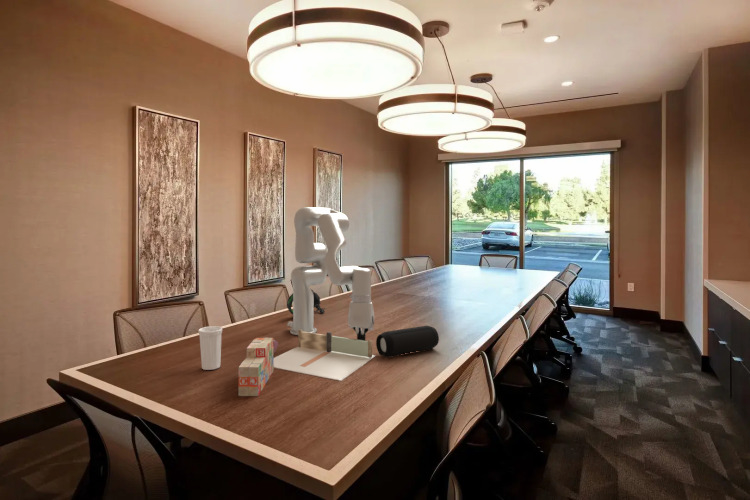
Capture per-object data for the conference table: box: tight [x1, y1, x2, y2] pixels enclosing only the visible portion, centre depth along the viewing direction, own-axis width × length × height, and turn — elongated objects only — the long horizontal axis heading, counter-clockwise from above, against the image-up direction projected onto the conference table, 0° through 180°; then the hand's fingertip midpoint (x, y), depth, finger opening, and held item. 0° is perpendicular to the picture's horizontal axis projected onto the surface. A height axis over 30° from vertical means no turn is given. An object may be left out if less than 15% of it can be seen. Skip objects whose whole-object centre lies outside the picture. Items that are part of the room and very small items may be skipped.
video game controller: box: [263, 336, 279, 355], centre depth 167 cm, size 10×5×7 cm, turn 71°
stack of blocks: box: [237, 337, 275, 397], centre depth 136 cm, size 21×6×12 cm, turn 2°
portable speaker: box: [375, 325, 440, 358], centre depth 168 cm, size 26×10×10 cm, turn 120°
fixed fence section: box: [297, 329, 333, 352], centre depth 170 cm, size 16×2×8 cm, turn 66°
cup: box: [197, 325, 223, 371], centre depth 148 cm, size 8×8×14 cm
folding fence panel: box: [331, 335, 373, 358], centre depth 163 cm, size 18×2×6 cm, turn 66°
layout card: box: [273, 346, 376, 382], centre depth 158 cm, size 34×28×1 cm
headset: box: [286, 288, 326, 315], centre depth 228 cm, size 16×12×27 cm
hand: (361, 343), depth 168 cm, fingers closed
